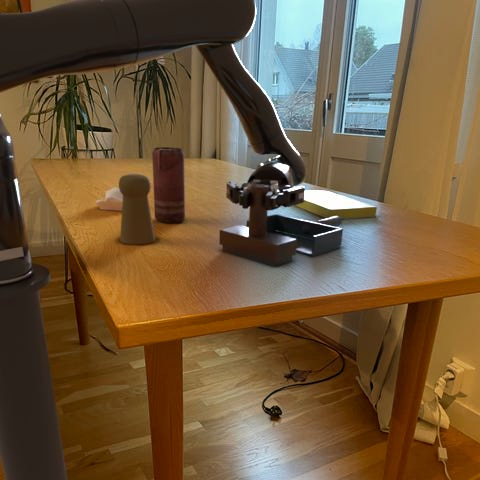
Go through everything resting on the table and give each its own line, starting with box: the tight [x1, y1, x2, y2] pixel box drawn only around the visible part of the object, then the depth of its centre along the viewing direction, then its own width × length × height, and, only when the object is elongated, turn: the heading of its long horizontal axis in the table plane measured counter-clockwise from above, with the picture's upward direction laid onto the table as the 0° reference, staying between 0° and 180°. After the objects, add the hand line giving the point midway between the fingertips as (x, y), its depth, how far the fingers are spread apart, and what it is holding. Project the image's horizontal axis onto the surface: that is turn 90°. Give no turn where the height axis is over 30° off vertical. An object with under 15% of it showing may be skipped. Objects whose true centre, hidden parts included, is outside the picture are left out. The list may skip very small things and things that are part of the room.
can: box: [151, 146, 186, 224], centre depth 94 cm, size 6×6×14 cm
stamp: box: [218, 184, 297, 267], centre depth 74 cm, size 5×12×11 cm, turn 47°
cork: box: [118, 173, 156, 246], centre depth 81 cm, size 6×6×11 cm
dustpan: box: [246, 213, 344, 257], centre depth 88 cm, size 19×15×3 cm
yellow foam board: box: [294, 190, 378, 220], centre depth 115 cm, size 12×2×24 cm
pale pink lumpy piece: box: [95, 187, 123, 212], centre depth 106 cm, size 10×4×10 cm
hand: (256, 202), depth 70 cm, fingers closed on stamp, 3 cm apart
